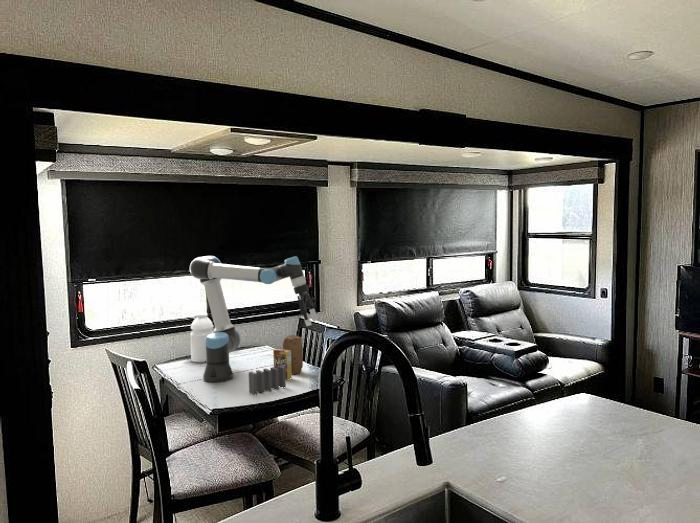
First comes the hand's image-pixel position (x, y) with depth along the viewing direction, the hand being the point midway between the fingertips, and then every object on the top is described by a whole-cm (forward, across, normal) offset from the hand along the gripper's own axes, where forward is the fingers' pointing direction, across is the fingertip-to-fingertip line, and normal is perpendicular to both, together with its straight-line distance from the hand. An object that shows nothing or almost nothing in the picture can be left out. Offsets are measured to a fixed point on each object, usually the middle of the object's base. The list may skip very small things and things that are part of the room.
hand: (312, 323), depth 290 cm
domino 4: (+22, -27, +20) cm, 41 cm away
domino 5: (+23, -24, +18) cm, 38 cm away
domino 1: (+20, -36, +28) cm, 50 cm away
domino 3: (+22, -30, +23) cm, 43 cm away
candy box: (+22, -10, +22) cm, 33 cm away
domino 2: (+21, -33, +26) cm, 46 cm away
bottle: (+5, +20, +78) cm, 81 cm away
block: (+23, +2, +20) cm, 31 cm away
